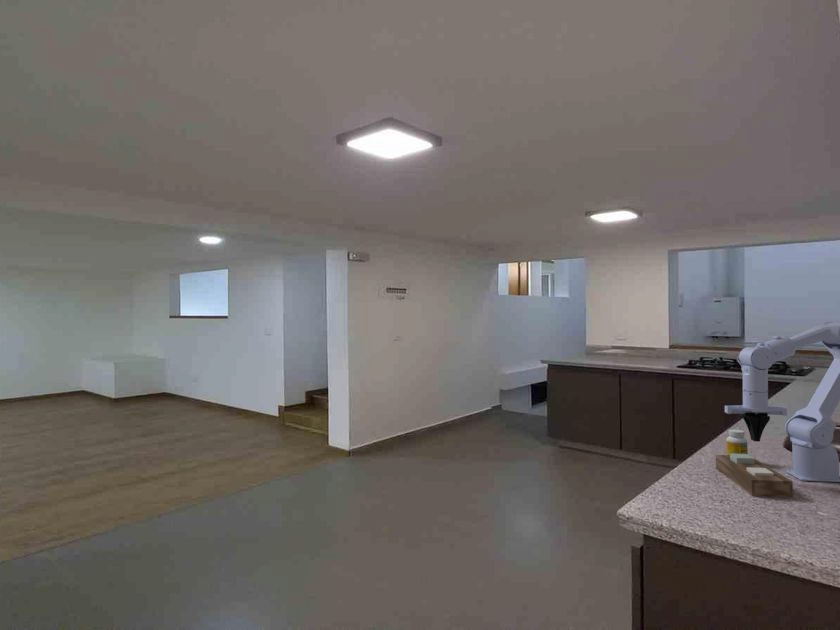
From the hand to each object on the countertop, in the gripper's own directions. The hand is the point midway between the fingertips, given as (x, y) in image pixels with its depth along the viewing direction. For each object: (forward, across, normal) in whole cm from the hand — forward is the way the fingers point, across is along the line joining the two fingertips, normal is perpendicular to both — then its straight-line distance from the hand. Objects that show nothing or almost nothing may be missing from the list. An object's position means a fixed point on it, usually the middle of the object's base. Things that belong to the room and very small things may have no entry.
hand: (755, 440), depth 133 cm
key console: (+10, +2, +3) cm, 11 cm away
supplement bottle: (+10, -2, -15) cm, 19 cm away
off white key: (+9, +2, +8) cm, 12 cm away
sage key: (+8, +2, -2) cm, 9 cm away
